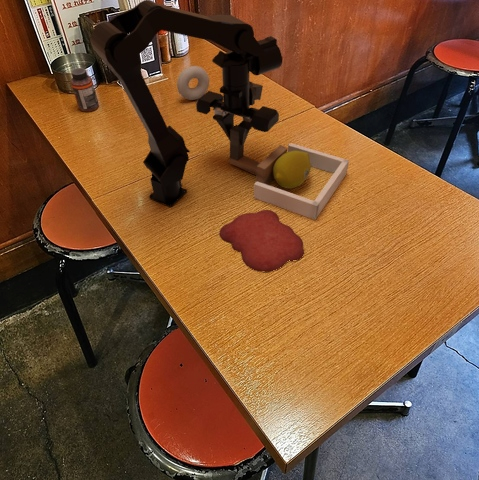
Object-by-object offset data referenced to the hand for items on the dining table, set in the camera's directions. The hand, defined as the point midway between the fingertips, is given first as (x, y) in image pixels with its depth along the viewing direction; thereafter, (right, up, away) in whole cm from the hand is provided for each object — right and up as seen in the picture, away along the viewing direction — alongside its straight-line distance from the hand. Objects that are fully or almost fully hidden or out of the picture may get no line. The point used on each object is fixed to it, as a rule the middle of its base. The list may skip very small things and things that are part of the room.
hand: (237, 142), depth 108 cm
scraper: (+4, -6, +2) cm, 7 cm away
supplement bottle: (-44, +16, +26) cm, 54 cm away
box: (+15, -11, -2) cm, 18 cm away
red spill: (+5, -24, -13) cm, 28 cm away
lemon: (+13, -10, -1) cm, 16 cm away
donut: (-13, +19, +28) cm, 36 cm away
